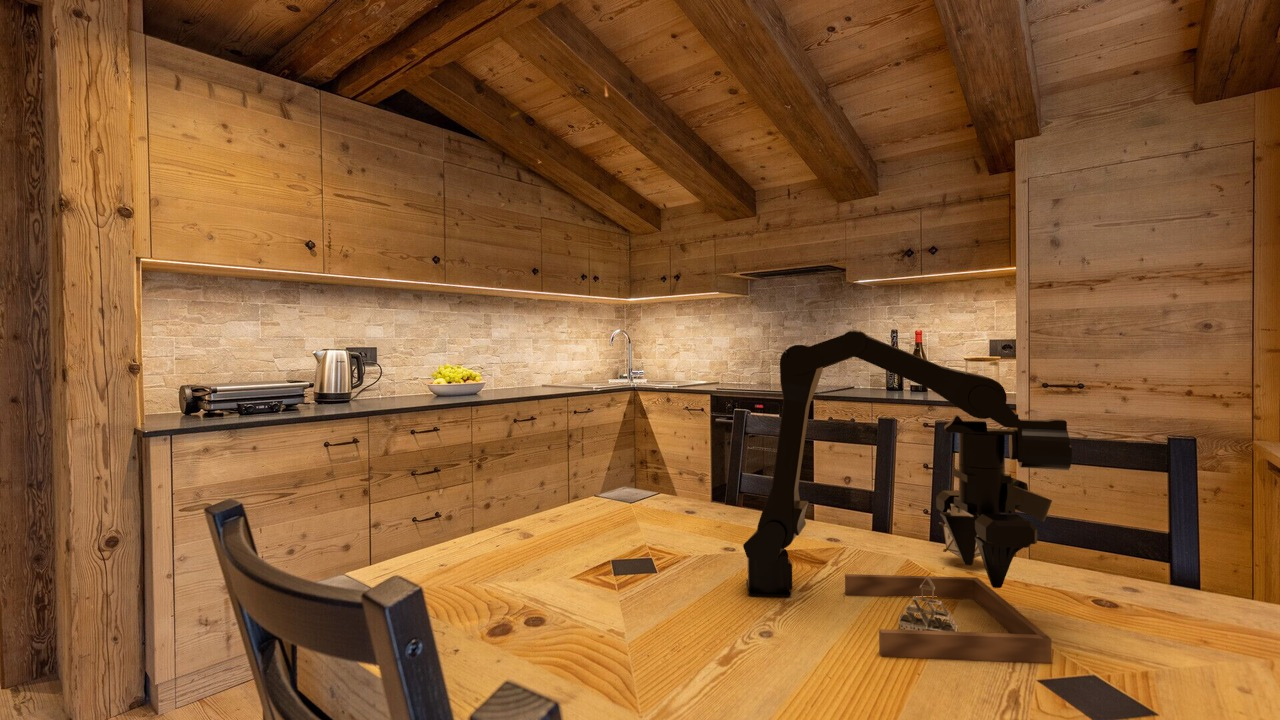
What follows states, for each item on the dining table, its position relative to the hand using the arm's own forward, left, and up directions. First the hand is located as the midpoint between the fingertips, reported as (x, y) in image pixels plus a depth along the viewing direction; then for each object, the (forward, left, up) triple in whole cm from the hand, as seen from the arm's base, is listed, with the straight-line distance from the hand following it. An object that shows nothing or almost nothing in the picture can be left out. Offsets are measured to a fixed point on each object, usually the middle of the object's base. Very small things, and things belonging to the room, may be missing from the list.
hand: (981, 575), depth 89 cm
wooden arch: (-7, -1, -6) cm, 10 cm away
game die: (+7, +24, -7) cm, 26 cm away
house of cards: (-7, -2, -7) cm, 10 cm away
